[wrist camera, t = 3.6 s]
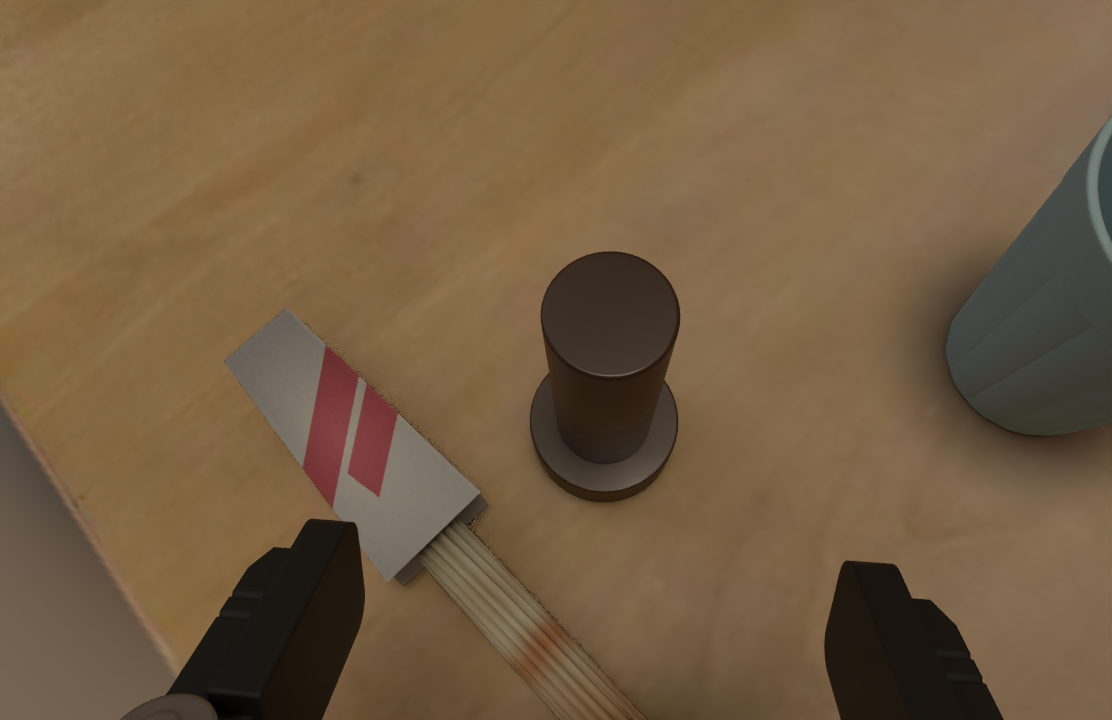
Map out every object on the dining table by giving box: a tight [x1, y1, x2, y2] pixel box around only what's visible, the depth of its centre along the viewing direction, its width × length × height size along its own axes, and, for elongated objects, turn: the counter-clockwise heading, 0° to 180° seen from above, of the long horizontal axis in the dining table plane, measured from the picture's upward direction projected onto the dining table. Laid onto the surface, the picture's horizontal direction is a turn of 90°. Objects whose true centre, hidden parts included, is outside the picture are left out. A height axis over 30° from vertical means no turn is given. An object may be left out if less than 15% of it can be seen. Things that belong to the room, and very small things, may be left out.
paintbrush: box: [224, 307, 647, 720], centre depth 25 cm, size 4×3×20 cm
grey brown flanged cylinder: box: [530, 251, 680, 502], centre depth 22 cm, size 5×5×11 cm
